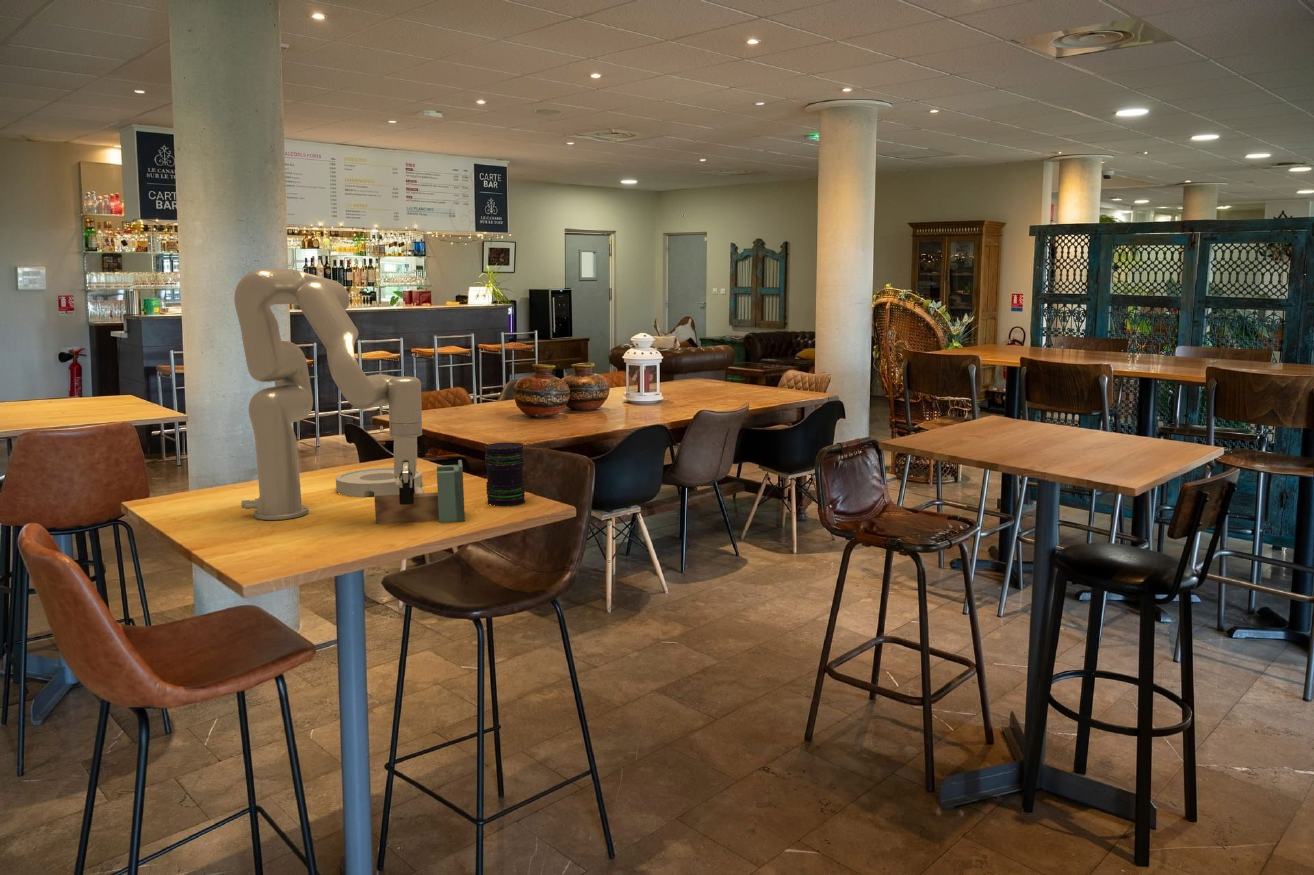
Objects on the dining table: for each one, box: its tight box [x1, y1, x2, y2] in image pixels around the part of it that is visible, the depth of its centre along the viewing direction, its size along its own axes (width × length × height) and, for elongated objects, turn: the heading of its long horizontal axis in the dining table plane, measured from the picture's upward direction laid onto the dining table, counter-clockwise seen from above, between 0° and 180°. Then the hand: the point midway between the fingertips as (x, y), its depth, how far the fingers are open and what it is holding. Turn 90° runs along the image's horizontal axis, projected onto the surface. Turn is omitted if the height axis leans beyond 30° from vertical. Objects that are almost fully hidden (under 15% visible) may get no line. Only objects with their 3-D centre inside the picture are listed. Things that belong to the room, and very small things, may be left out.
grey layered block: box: [394, 476, 425, 494], centre depth 254 cm, size 17×5×10 cm, turn 15°
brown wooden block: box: [374, 491, 439, 525], centre depth 233 cm, size 17×4×8 cm, turn 103°
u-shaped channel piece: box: [436, 459, 466, 524], centre depth 235 cm, size 6×10×13 cm, turn 13°
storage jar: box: [484, 442, 526, 507], centre depth 250 cm, size 10×10×15 cm
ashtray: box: [335, 467, 424, 498], centre depth 271 cm, size 23×23×4 cm
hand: (407, 499), depth 233 cm, fingers open, 9 cm apart
